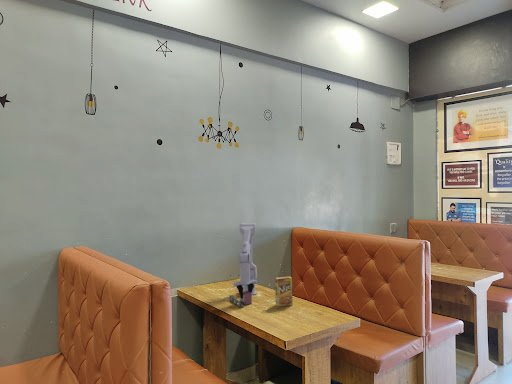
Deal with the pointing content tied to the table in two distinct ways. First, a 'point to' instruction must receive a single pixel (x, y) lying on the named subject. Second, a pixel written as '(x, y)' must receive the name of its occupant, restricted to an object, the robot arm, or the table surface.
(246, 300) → the carton
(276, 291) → the candy box
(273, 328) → the table surface
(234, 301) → the price rail
